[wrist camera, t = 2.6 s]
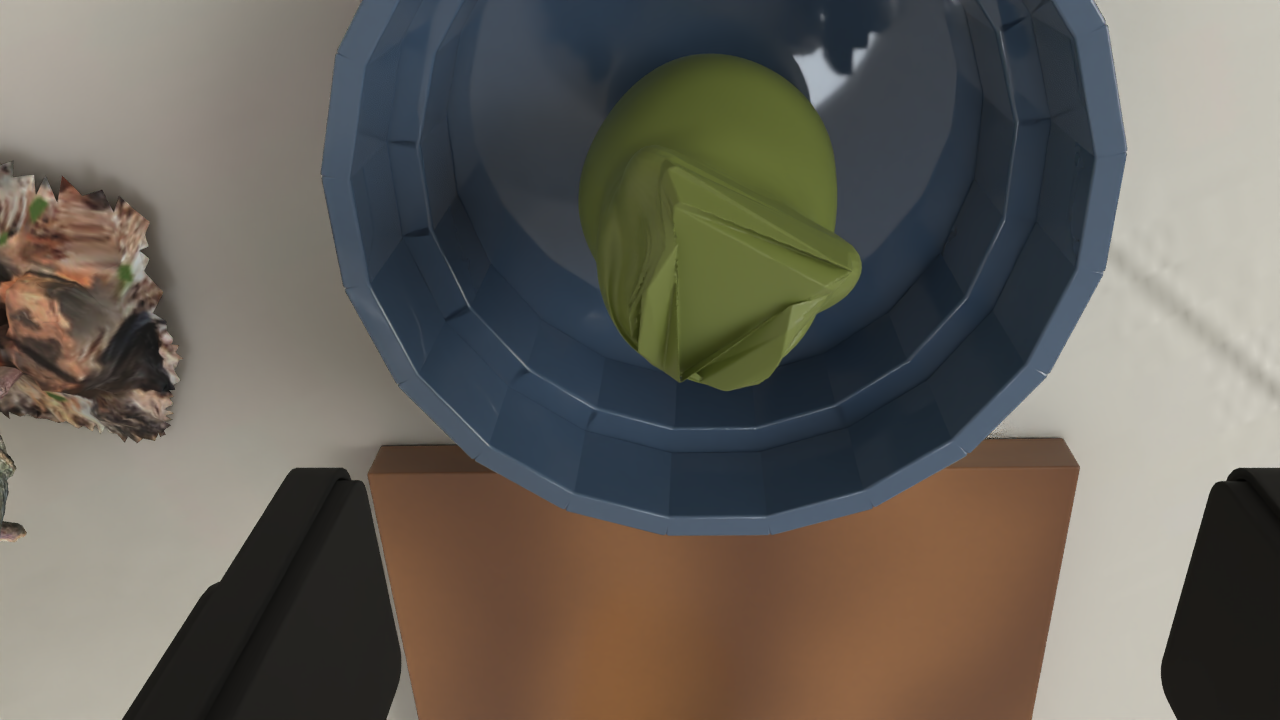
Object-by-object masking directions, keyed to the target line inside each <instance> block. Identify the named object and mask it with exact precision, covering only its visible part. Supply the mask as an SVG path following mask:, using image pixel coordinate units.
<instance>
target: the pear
mask: <svg viewBox="0 0 1280 720" xmlns="http://www.w3.org/2000/svg"><path fill="white" fill-rule="evenodd" d="M578 205H579V216H580V222H581V226H582V230H583V234H584V237H585V239H586V242H587V245H588V247H589V249H590V251H591V253H592V255H593V257H594V259H595V261H596V264H597V275H598V282H599V287H600V291H601V295H602V298H603V301H604V304H605V307H606V309H607V311H608V313H609V316H610V317H611V319H612V321H613V323H614V325H615V326H616V328H617V330H618V331H619V333H620V335H621V336H622V337H623V339H624V340H625V341H626V342H627V343H628V344H629V345H630V346H631V347H632V348H633V349H634V350H635V351H636V352H637V353H639V354H640V355H641V356H643V357H644V358H645V359H646V360H647V361H648V362H649V363H650V364H651V365H653V366H655V367H657V368H658V369H660V370H662V371H664V372H665V373H666V374H668V375H669V376H671V377H672V378H673V379H675V380H676V381H678V382H683V381H684V380H686V379H689V380H692V381H695V382H698V383H702V384H706V385H709V386H712V387H714V388H717V389H720V390H722V391H730V390H735V389H739V388H742V387H747V386H752V385H757V384H758V385H759V384H760V383H761V382H763V381H764V380H765V379H767V378H769V377H770V376H771V374H772V373H773V372H774V370H775V369H776V367H778V365H779V363H780V362H781V360H782V358H783V357H785V356H786V355H787V354H788V353H789V352H790V351H791V350H792V349H793V348H794V347H795V346H796V345H797V344H798V343H799V341H800V340H801V339H802V338H803V336H804V335H805V334H806V332H807V331H808V329H809V327H810V326H811V324H812V322H813V320H814V318H815V316H816V314H818V313H820V312H822V311H824V310H826V309H828V308H830V307H831V306H833V305H835V304H836V303H838V302H839V301H841V300H842V299H843V298H845V297H846V296H847V295H848V294H849V293H850V292H851V290H852V289H853V288H854V286H855V285H856V283H857V282H858V280H859V277H860V275H861V270H862V265H861V264H862V263H861V260H860V256H859V254H858V253H857V251H856V250H855V248H854V247H853V246H852V245H851V244H849V243H848V242H846V241H845V240H844V239H842V238H841V237H839V236H838V235H836V234H835V233H834V231H835V224H836V214H837V178H836V166H835V158H834V153H833V148H832V144H831V141H830V138H829V135H828V132H827V130H826V128H825V125H824V123H823V121H822V120H821V118H820V116H819V114H818V113H817V111H816V110H815V108H814V107H813V105H812V104H811V103H810V102H809V100H808V99H807V98H806V97H805V96H804V95H803V94H802V93H801V92H800V91H799V90H798V89H797V88H796V87H795V86H794V85H793V84H791V83H790V82H789V81H788V80H786V79H785V78H784V77H782V76H781V75H779V74H778V73H776V72H774V71H772V70H771V69H769V68H767V67H765V66H763V65H760V64H758V63H756V62H753V61H750V60H747V59H744V58H740V57H736V56H731V55H725V54H696V55H690V56H685V57H681V58H678V59H675V60H672V61H670V62H668V63H665V64H663V65H661V66H659V67H658V68H656V69H654V70H653V71H651V72H650V73H648V74H647V75H645V76H644V77H643V78H641V79H640V80H639V81H638V82H637V83H635V84H634V85H633V86H632V87H631V88H630V89H629V90H628V91H627V92H626V93H625V94H624V95H623V96H622V98H621V99H620V100H619V101H618V102H617V104H616V105H615V106H614V107H613V109H612V110H611V111H610V113H609V114H608V116H607V117H606V119H605V120H604V122H603V123H602V125H601V127H600V128H599V130H598V132H597V134H596V136H595V138H594V140H593V142H592V144H591V146H590V148H589V151H588V153H587V156H586V159H585V162H584V165H583V169H582V173H581V178H580V184H579V195H578ZM680 376H681V378H680ZM680 380H682V381H680Z"/></svg>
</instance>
